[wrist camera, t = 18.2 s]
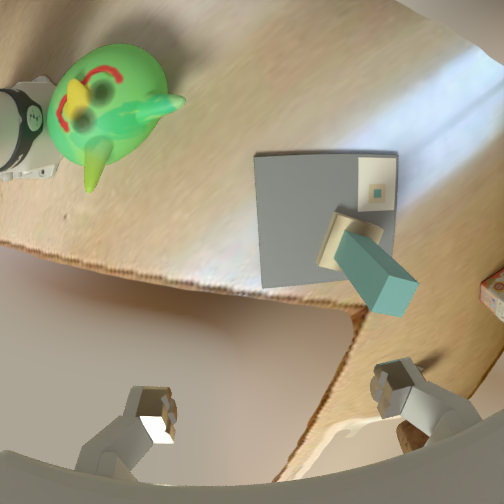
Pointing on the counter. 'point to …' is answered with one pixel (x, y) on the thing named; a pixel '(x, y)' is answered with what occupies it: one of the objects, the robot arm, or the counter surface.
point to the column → (375, 275)
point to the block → (410, 437)
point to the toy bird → (108, 107)
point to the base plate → (320, 211)
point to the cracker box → (494, 294)
